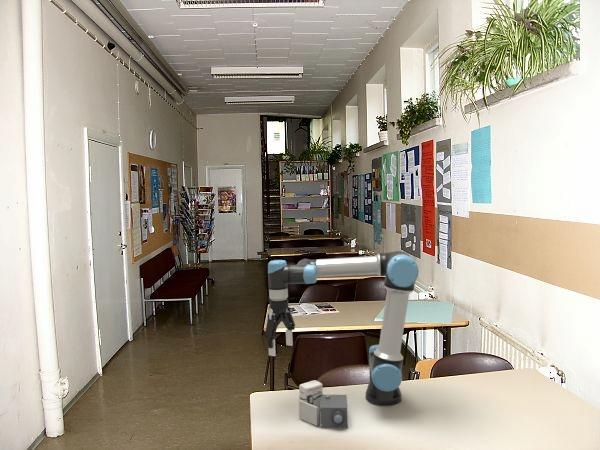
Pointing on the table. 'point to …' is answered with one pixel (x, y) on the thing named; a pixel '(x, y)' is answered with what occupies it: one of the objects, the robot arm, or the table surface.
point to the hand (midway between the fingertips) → (281, 350)
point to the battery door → (309, 413)
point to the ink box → (311, 392)
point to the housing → (334, 411)
